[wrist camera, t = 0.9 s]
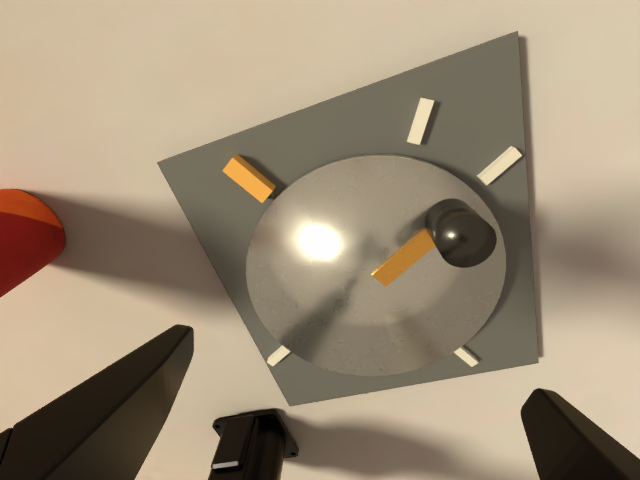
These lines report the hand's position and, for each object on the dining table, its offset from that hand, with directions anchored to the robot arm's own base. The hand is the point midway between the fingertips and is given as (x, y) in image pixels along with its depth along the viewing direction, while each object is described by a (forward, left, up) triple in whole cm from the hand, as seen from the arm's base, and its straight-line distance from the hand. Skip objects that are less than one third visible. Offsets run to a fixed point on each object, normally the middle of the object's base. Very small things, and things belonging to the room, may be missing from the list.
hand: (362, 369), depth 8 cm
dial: (-5, 0, -12) cm, 13 cm away
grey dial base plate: (-5, 0, -13) cm, 14 cm away
